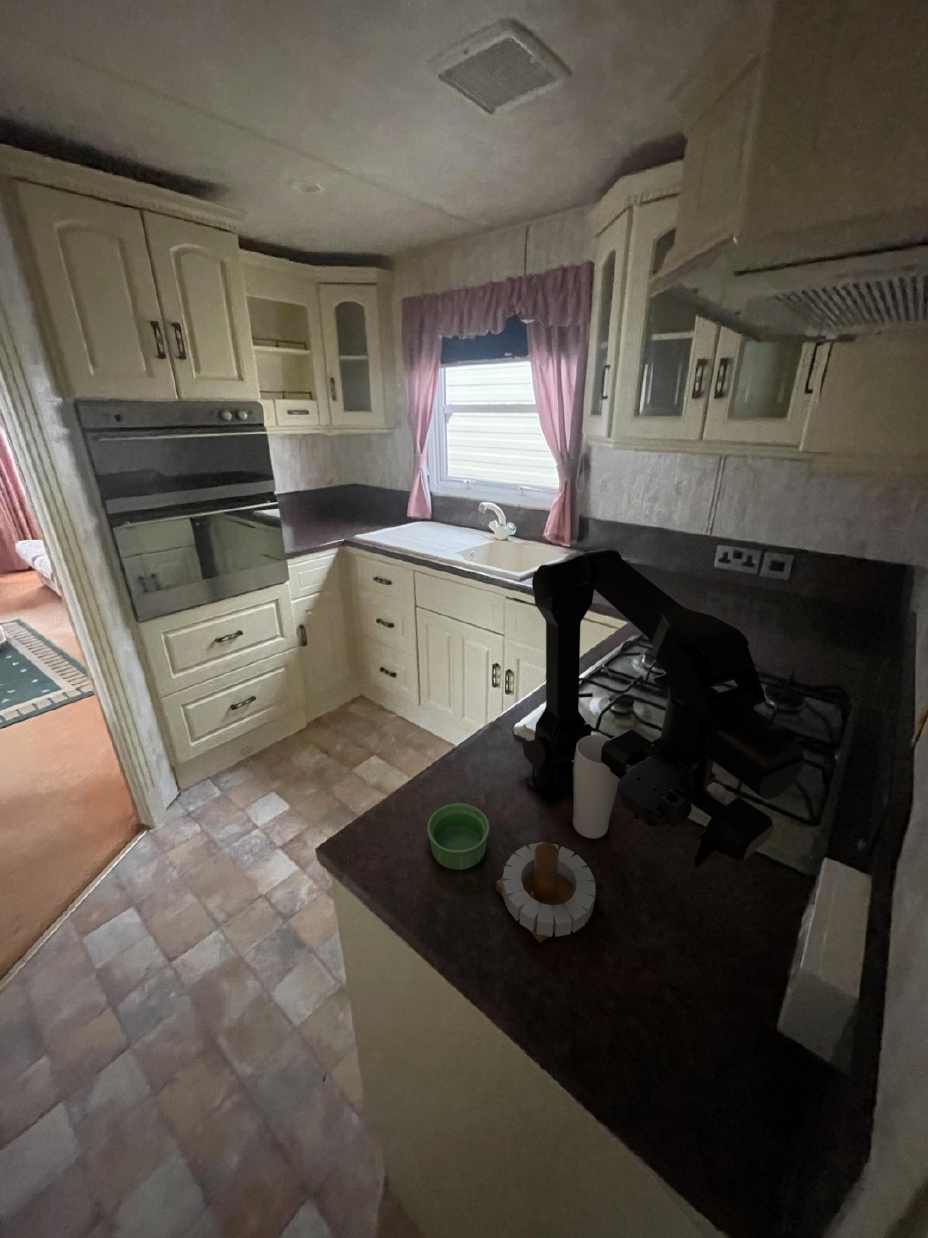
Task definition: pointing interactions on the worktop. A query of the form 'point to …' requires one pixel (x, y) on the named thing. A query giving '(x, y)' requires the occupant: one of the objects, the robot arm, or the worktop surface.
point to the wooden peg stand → (545, 881)
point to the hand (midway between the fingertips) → (666, 840)
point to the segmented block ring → (542, 914)
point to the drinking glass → (592, 788)
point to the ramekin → (458, 835)
